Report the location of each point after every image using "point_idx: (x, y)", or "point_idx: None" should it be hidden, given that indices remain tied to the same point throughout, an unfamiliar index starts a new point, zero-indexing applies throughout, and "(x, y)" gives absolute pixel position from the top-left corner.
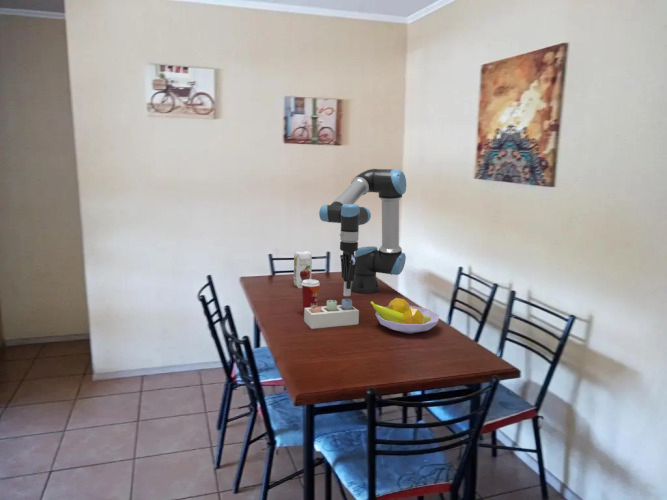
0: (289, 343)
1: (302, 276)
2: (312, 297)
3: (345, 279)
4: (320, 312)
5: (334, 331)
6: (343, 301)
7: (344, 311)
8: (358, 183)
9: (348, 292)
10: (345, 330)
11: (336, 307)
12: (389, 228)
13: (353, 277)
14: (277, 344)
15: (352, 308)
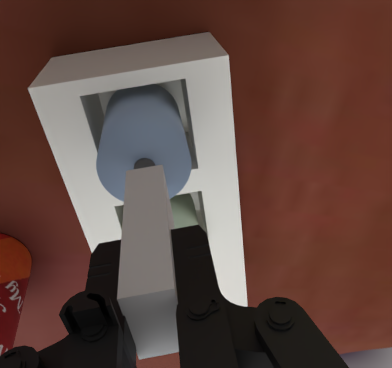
0: (350, 323)
1: None
2: (7, 341)
3: (135, 361)
4: (218, 285)
5: (289, 185)
6: (170, 196)
7: (225, 165)
8: None
9: (168, 207)
10: (292, 133)
11: (186, 218)
12: None
13: (334, 357)
14: (344, 346)
15: (131, 84)
